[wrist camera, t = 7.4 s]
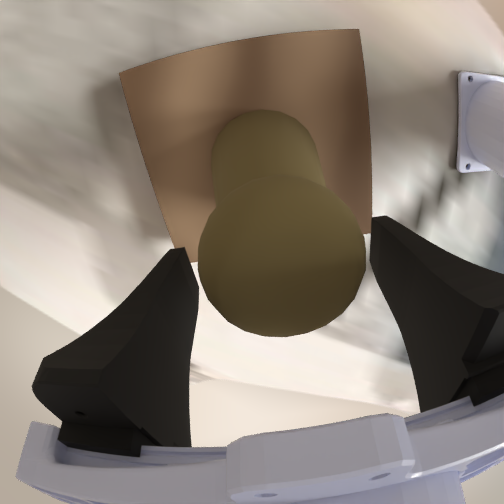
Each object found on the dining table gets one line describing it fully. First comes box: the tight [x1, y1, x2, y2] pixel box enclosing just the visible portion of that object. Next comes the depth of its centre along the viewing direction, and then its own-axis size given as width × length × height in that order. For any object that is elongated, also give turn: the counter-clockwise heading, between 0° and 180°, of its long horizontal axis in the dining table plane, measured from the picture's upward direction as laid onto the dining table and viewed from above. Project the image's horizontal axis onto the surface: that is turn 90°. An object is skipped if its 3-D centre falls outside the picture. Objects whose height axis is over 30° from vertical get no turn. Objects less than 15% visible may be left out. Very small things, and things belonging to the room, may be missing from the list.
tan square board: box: [119, 29, 372, 263], centre depth 19 cm, size 13×13×3 cm
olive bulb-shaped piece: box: [198, 109, 366, 337], centre depth 13 cm, size 6×6×11 cm
